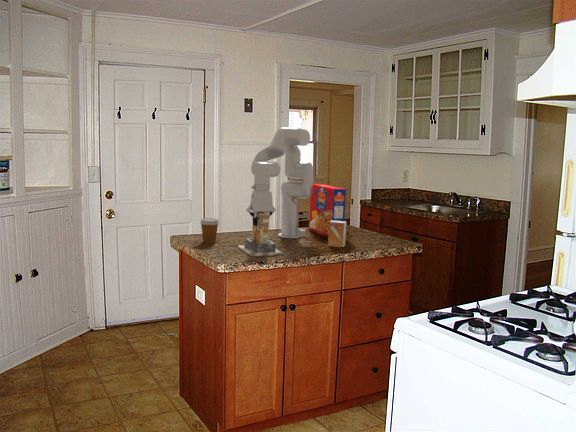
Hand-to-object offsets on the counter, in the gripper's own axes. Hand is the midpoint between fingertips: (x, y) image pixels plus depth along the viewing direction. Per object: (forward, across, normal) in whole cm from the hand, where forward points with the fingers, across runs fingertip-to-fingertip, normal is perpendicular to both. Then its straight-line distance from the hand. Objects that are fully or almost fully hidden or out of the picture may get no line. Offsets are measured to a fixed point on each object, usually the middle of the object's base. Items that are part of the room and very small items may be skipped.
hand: (260, 225), depth 267 cm
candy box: (+9, 0, 0) cm, 9 cm away
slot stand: (+13, 0, 0) cm, 13 cm away
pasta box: (+13, +54, +38) cm, 67 cm away
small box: (+13, +44, +4) cm, 46 cm away
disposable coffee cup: (+13, -19, +25) cm, 34 cm away
